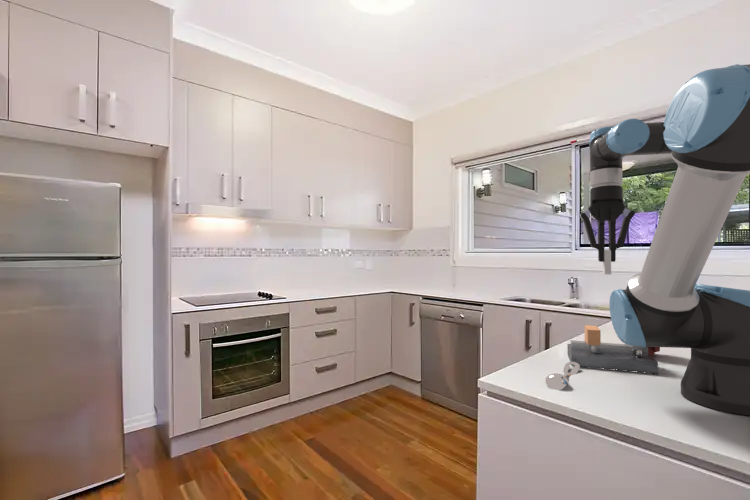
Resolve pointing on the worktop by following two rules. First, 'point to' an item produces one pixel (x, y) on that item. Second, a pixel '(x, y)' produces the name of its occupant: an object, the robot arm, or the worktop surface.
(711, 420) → the worktop surface
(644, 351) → the bar
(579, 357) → the hole plate
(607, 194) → the robot arm
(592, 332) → the block
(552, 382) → the grey spoon
